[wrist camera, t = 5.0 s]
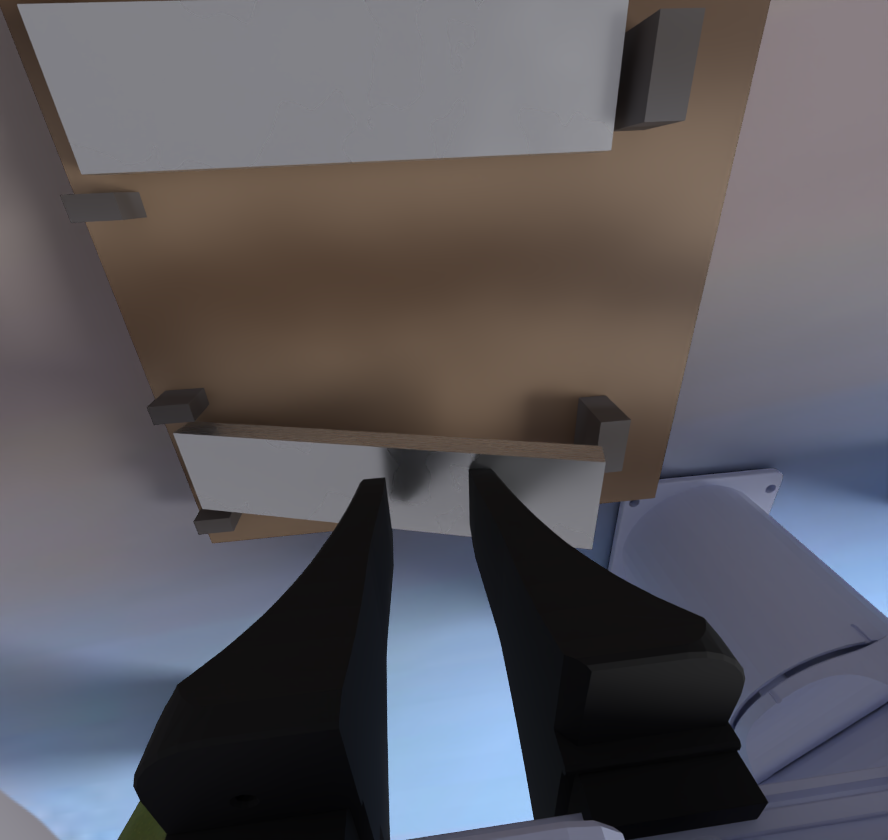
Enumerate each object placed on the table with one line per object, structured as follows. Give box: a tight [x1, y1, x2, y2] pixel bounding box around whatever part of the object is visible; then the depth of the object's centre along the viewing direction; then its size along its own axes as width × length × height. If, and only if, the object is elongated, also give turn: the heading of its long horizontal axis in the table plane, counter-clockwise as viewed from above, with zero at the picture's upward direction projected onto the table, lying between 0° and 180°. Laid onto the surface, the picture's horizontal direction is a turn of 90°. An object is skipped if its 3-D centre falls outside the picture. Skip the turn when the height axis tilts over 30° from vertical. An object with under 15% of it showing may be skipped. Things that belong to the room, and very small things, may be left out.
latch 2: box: [173, 421, 606, 549], centre depth 13 cm, size 3×13×1 cm, turn 92°
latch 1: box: [17, 0, 629, 175], centre depth 10 cm, size 3×13×1 cm, turn 93°
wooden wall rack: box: [0, 0, 771, 543], centre depth 14 cm, size 18×18×5 cm
